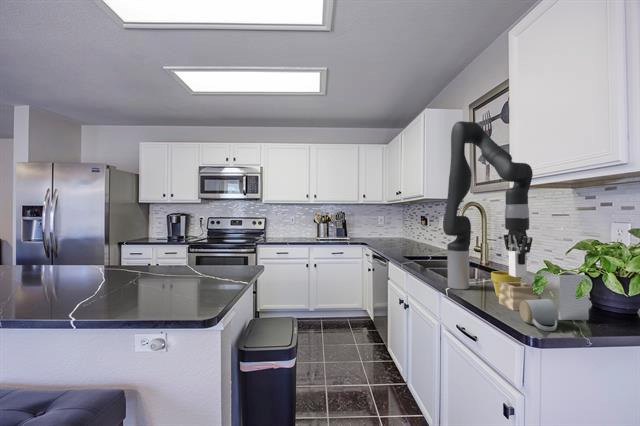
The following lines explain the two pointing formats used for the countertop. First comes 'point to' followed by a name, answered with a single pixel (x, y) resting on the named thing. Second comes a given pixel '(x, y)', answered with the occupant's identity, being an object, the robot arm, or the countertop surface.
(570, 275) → the tall grey box
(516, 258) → the plug
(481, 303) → the countertop surface
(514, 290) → the wooden box
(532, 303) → the ceramic mug
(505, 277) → the plant pot
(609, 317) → the countertop surface
